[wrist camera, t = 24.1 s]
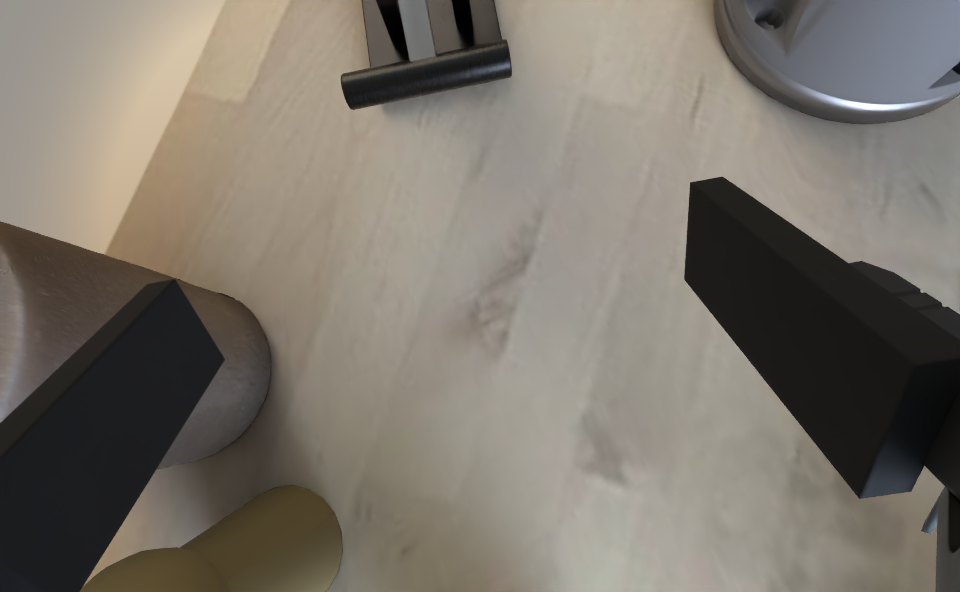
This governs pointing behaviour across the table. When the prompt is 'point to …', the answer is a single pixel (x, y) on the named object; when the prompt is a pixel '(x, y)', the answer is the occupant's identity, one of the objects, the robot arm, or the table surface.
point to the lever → (425, 65)
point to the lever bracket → (455, 23)
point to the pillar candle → (95, 300)
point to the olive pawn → (242, 552)
